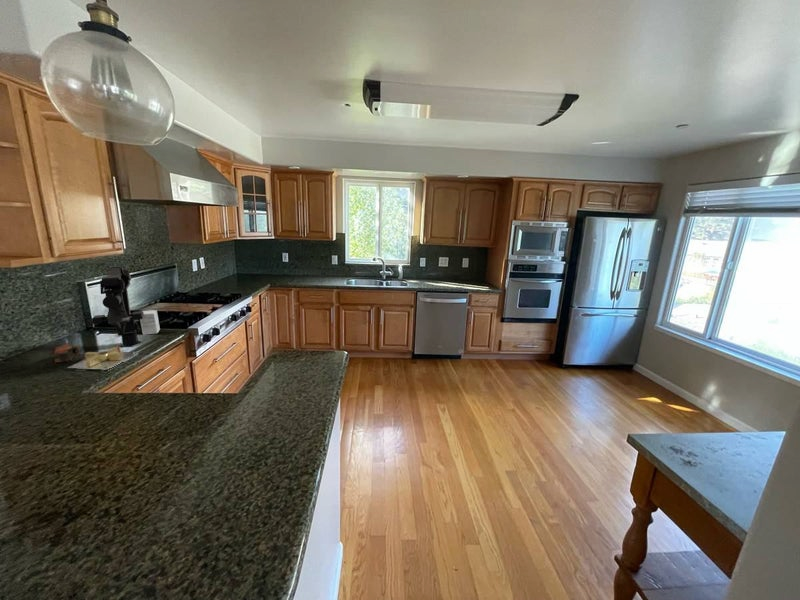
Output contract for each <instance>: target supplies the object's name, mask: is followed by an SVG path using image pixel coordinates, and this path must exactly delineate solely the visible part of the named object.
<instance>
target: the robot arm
mask: <svg viewBox="0 0 800 600" xmlns="http://www.w3.org/2000/svg"><path fill="white" fill-rule="evenodd" d="M107 274H108V275H105V276H102V278H101V280H100V282H99V287H100V294H101V295H105V297H104V298H103V300H102V305H103V306H104V307H105V308H107V309H108V311H107V315H105V314H100V315H99V314H98V315H94V316H93V317H92V318H91V320H90V323H91V325H100V324H101V323H103V322H105V321H108V325H111V326H113V327H114V328H115V329H116V332H117V335H118V337H120V336H121V342H122V344H120V347H134V346H136V345H138V344H139V343H142V341H141V340H139V338H138V334H139V333H141V328H140V327H141V326H140V325H139V324H138V322H136V320H140V319H143V317H144V313H143V312H142V310H140V311H138V310H137V311H133V312H132V313H131V307H130V299H129V292H128V289H129V287H130V286H131V281H132V277H131V273H130V271H129V270H126V269H124V268H123V266H111V267H109V271H108V272H107Z"/></svg>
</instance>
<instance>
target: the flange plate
mask: <svg viewBox="0 0 800 600" xmlns="http://www.w3.org/2000/svg"><path fill="white" fill-rule="evenodd" d="M120 353H122V358H123V359H121V360H107V361H102V362H99V363H97V364H95V365H93V366H91V367H87V365H86V361H85V360H87V359H85V358H83V359H82V360H80V361H79V362H78V361H77V363H74V364H72V365H70V366H68V367H66V369H67V368H77V369H109V368H112V367H114V366H116V365H118V364H120V363H122V362H124V363H126V362H128V360H131V359H133V358H135V357H136V356H138V355H139V352H137V351H136V352H135V351H133V352H131V351H120ZM122 364H123V363H122ZM120 365H121V364H120ZM118 366H119V365H118ZM116 367H117V366H116ZM114 368H115V367H114ZM112 369H113V368H112Z"/></svg>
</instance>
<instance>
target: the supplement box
mask: <svg viewBox="0 0 800 600" xmlns="http://www.w3.org/2000/svg"><path fill="white" fill-rule="evenodd" d="M141 311H142V310H141ZM142 312H143V313H144V317H143V319H139V322H140V327H141V328H140V329H141V332H142V335H143V336H145V335H154V334H158V333H159V331H160V330H161V328H160V321H159V315H158V310H157V309H156V310H155V309H152V310H143V311H142Z"/></svg>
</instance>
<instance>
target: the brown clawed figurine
mask: <svg viewBox="0 0 800 600" xmlns="http://www.w3.org/2000/svg"><path fill="white" fill-rule="evenodd" d="M81 352H82V347H80V346H75V345H74V346H73V345H72V344H63V345H59V346H55V347H52V348H50V353H49V357H51V356H54V355H56V356H57V357H58V358H55V359H54V362H55V363H56V362H61V361H66V362H70V361H69V360H72V359H73V358H77V357H78V355H80V354H81ZM72 361H73V360H72ZM61 363H62V362H61Z"/></svg>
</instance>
